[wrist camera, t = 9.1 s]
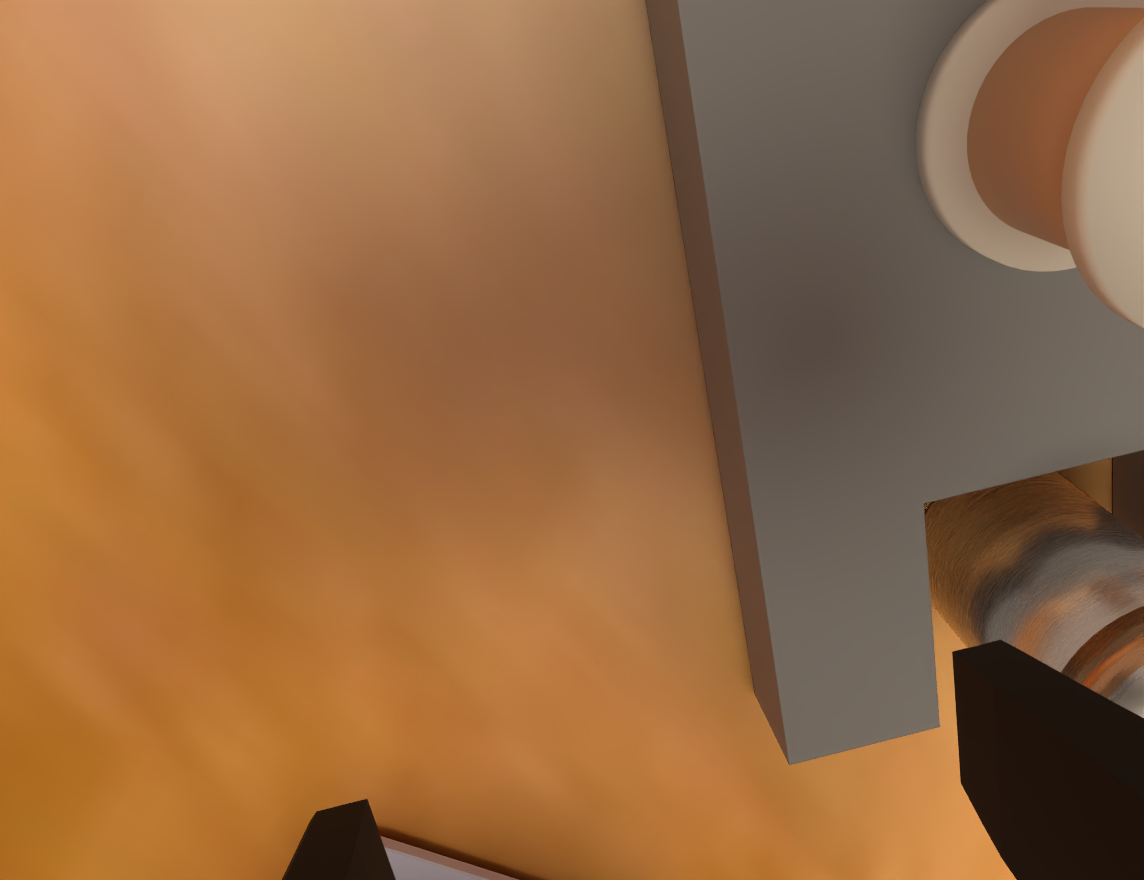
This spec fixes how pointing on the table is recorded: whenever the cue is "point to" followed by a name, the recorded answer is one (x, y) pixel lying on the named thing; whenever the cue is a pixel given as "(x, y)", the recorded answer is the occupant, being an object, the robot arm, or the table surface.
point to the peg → (1043, 580)
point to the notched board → (899, 304)
